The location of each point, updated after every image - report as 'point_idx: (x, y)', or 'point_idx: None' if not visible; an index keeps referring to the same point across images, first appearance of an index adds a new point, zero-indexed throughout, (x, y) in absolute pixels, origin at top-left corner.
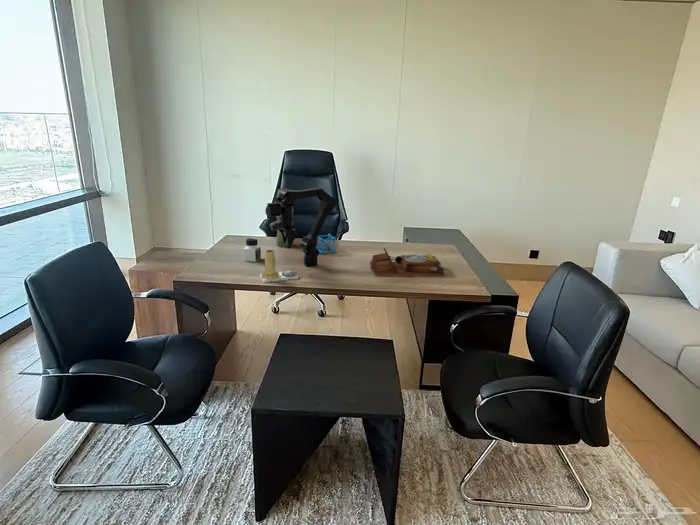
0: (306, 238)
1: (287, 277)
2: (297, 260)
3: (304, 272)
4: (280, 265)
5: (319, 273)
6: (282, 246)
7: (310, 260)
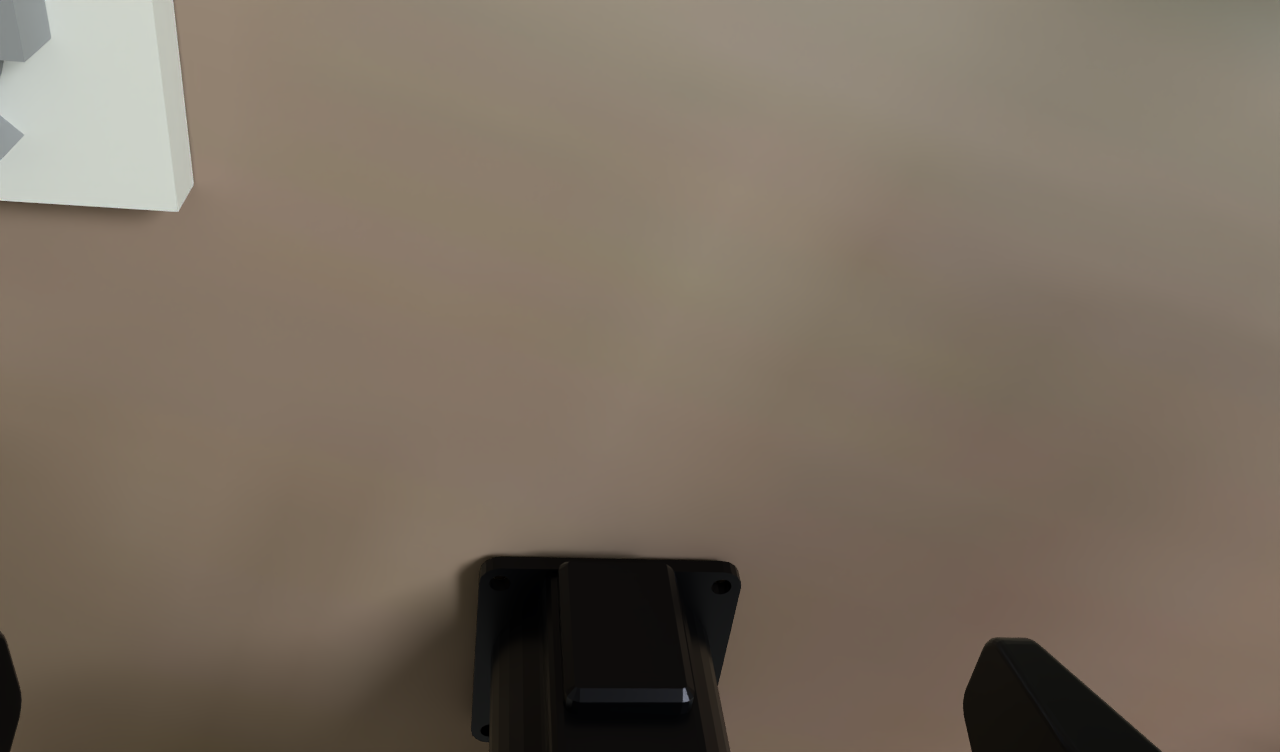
0: None
1: None
2: (992, 517)
3: (160, 419)
4: (887, 71)
5: (37, 638)
6: None
7: (502, 724)
